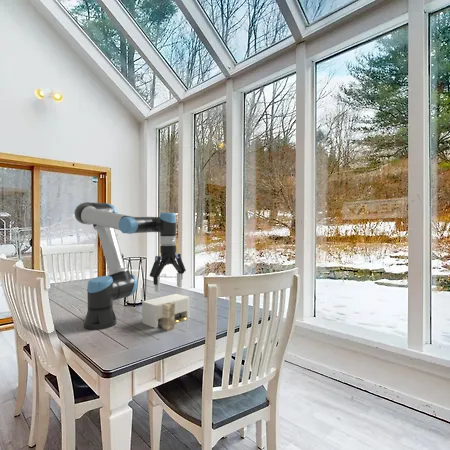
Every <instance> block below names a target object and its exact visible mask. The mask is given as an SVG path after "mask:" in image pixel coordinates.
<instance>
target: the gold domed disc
mask: <svg viewBox="0 0 450 450" xmlns="http://www.w3.org/2000/svg"><path fill="white" fill-rule="evenodd" d="M178 319H179V322H180V321H181V322H185V321H188V318H187V317H182V316H180V317H179V318H178Z"/></svg>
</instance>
